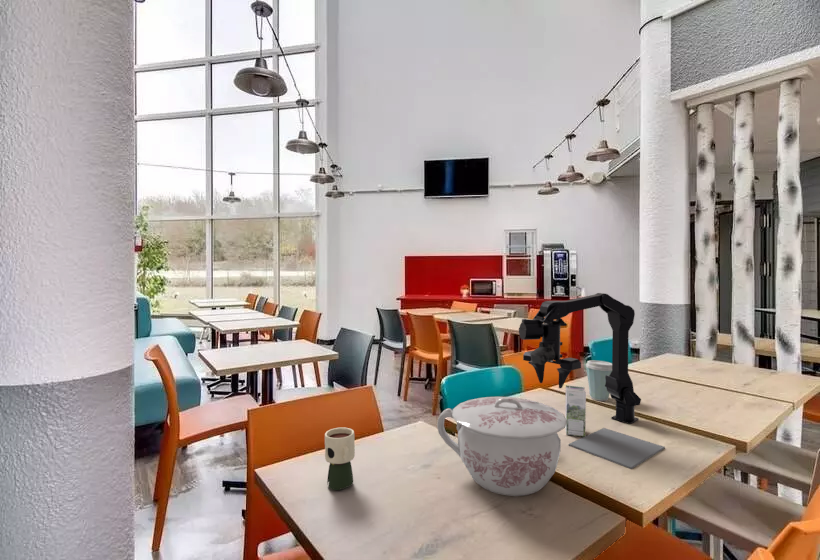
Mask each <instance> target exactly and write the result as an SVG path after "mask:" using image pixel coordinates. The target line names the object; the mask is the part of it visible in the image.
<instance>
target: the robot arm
mask: <svg viewBox="0 0 820 560" xmlns="http://www.w3.org/2000/svg"><path fill="white" fill-rule="evenodd" d="M596 307H599V308H600V309H601V310H602V312H604V313H606V314H607V321H608V324H609V325H610V328H611V330H612V342H611V343H612V344H611V345H612V349H611V350H612V351H611V352H612V356H611V357H612V358H611V359H612V360H611V363H612V372H611V374H610V375H609V376H607V375H606V376H605V379H606V384H605V387H606V388H607V391H608V392H609V393H610V394H609V396H610V397H611V399H613V400H615V415H613V416H611V417H610V418H611V420H616V421H619V422H622V423H626V424H628V425H629V424H630V425H631V424H633V423H635V422H637V421H639V420H640V419H639V417H635V407H637V406H640V405H641V401H642V398H641V397H640V396H639V395H638V394H637V393H636V392H635V390H634V384H633V380H632V378H631V376H630V374H629V336H630V335H629V331H630V329H631V327H632V326H633V325H634V321H635V317H636V316H635V315H636V314H635V309H634V308H633V307H632V306H630V305H626V304H625V303H623V302H621V301H619V300H618V299H615V298H614V297H612V296H610V294H608V293H603V292H602V293H601V292H597V293H594V294H592V295H591V294H590V295H587V296H581V297H577V298H573V299H567V300H545V301H543V302H541V305H540V307H539V310H538V311H537V313H536V314H535V316H534V317H533V319H532V318H531V319H528V318H522V319H521V322H520V325H519V327H518V335H519V338H520V339H521V340H523V341H524V340H525V341H526V340H527V341H528V340H541V341H539V343H538V347H537V348H535V349H534V350H529V351H524V353H523V355H522V361H526V362H528V363H527V364H530V365H531V366H532V367H533V369H534V371H535V373H536V377H537V379H538V381H539V384H543V382H544V377H545V367H546V363H550V364H555V365H559V367H558V368H556V370H557V372H558V389H562V388H563V387H564V384H565V382H566V381H567V379H568V376H569V374H570V373H571V372H572V371H574V370H579V369H582V362H581V360H580V359H578V358H573V357H566V358H563V353H562V354H561V346H563V342H562V341H561V327H566V326H567V325H568V324H567V323H566V322H565V321H564V320H563V318H565V317H567V316H568V315H570V314H571V313H575V312H578V311H584V310H587V309H592V308H596Z"/></svg>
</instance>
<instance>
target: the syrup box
mask: <svg viewBox="0 0 820 560" xmlns="http://www.w3.org/2000/svg"><path fill="white" fill-rule="evenodd" d="M586 403H587V393H586V389H585V387H584V386H578V385H577V386H576V385H565V418H566V420H567V424H566V426H565V428H564V429H565V434H566V435H567V436H573V437H575V436H576V437H581V436H582V437H581V438H583V437H585V436H586V416H587V414H586V412H587V411H586V410H587V409H586V407H587V405H586Z"/></svg>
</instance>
